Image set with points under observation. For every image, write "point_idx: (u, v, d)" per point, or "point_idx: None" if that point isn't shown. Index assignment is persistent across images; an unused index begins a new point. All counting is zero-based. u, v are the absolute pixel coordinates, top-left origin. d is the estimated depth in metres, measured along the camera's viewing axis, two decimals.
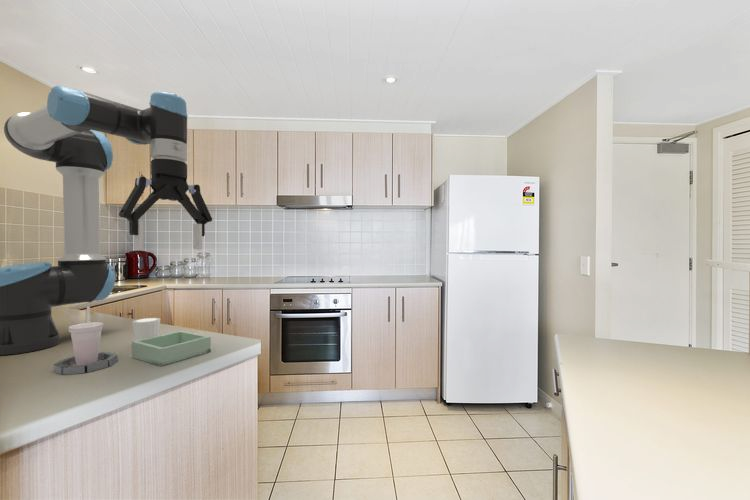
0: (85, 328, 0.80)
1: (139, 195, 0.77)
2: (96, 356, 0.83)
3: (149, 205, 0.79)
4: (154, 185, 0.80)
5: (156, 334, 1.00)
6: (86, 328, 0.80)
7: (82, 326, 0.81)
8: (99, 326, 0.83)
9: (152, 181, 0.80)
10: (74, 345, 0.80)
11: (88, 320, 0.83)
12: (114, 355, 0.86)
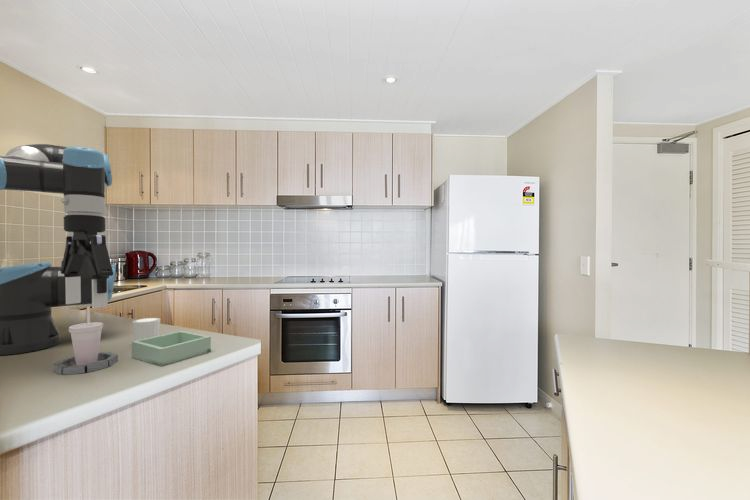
0: (85, 328, 0.80)
1: (65, 254, 0.85)
2: (96, 356, 0.83)
3: (69, 262, 0.84)
4: None
5: (156, 334, 1.00)
6: (86, 328, 0.80)
7: (82, 326, 0.81)
8: (99, 326, 0.83)
9: None
10: (74, 345, 0.80)
11: (88, 320, 0.83)
12: (114, 355, 0.86)
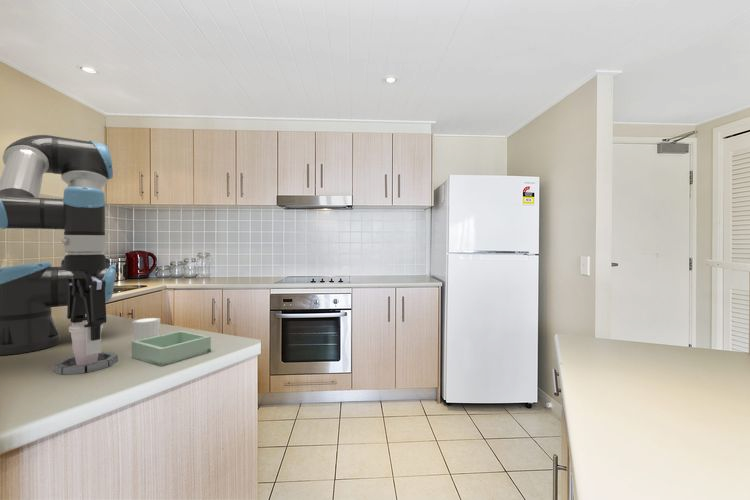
0: (85, 328, 0.80)
1: (69, 296, 0.84)
2: (96, 356, 0.83)
3: (74, 305, 0.83)
4: None
5: (156, 334, 1.00)
6: None
7: (82, 326, 0.81)
8: None
9: None
10: (74, 345, 0.80)
11: None
12: (114, 355, 0.86)
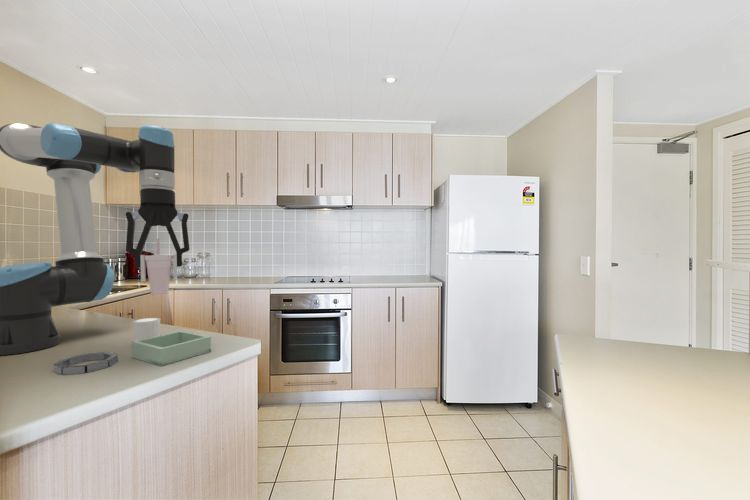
0: (171, 256, 0.89)
1: (131, 229, 0.85)
2: None
3: (144, 237, 0.87)
4: (141, 215, 0.86)
5: (156, 334, 1.00)
6: (171, 256, 0.89)
7: (163, 255, 0.88)
8: None
9: (138, 212, 0.86)
10: (160, 272, 0.87)
11: None
12: (114, 355, 0.86)
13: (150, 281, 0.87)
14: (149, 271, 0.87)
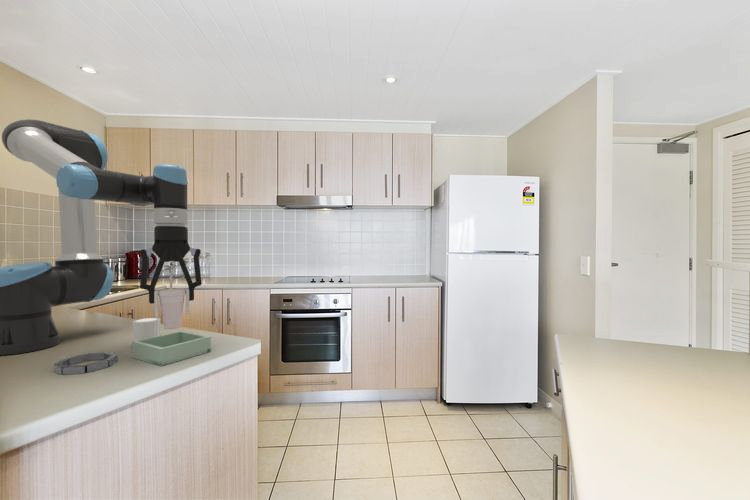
0: (184, 291, 0.91)
1: (146, 266, 0.87)
2: None
3: (158, 273, 0.88)
4: (155, 251, 0.88)
5: (156, 334, 1.00)
6: (184, 291, 0.91)
7: (177, 290, 0.90)
8: None
9: (152, 249, 0.88)
10: (174, 307, 0.89)
11: None
12: (114, 355, 0.86)
13: (163, 316, 0.89)
14: (163, 306, 0.89)
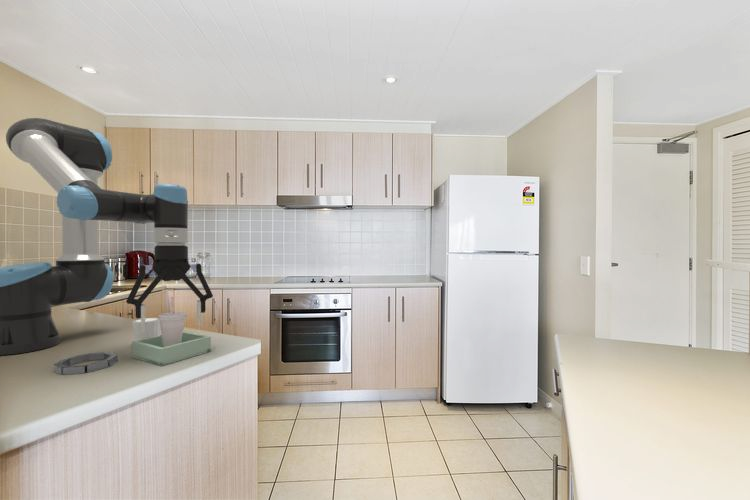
0: (185, 315, 0.91)
1: (139, 282, 0.86)
2: None
3: (150, 290, 0.88)
4: (154, 270, 0.88)
5: (156, 334, 1.00)
6: (185, 315, 0.92)
7: (177, 314, 0.91)
8: None
9: (152, 267, 0.88)
10: (174, 332, 0.89)
11: (172, 310, 0.91)
12: (114, 355, 0.86)
13: (164, 340, 0.89)
14: (163, 331, 0.89)
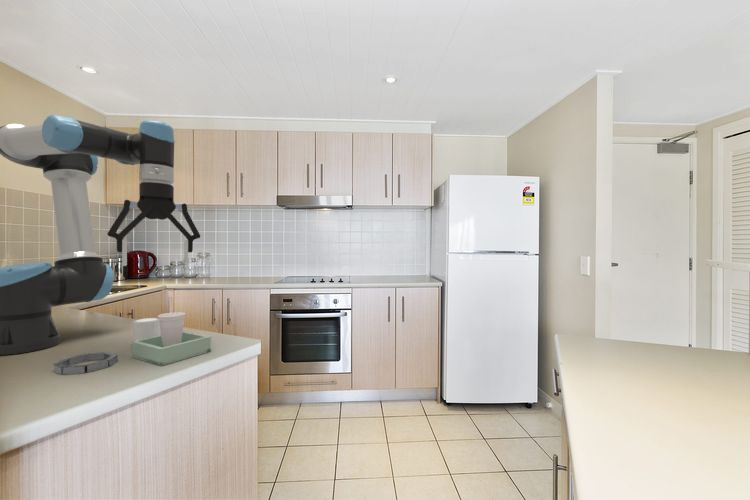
0: (184, 314, 0.91)
1: (123, 217, 0.86)
2: None
3: (132, 225, 0.87)
4: (139, 207, 0.88)
5: (156, 334, 1.00)
6: (184, 314, 0.92)
7: (176, 314, 0.91)
8: None
9: (137, 203, 0.88)
10: (173, 332, 0.89)
11: (171, 310, 0.91)
12: (114, 355, 0.86)
13: (163, 340, 0.89)
14: (162, 331, 0.89)
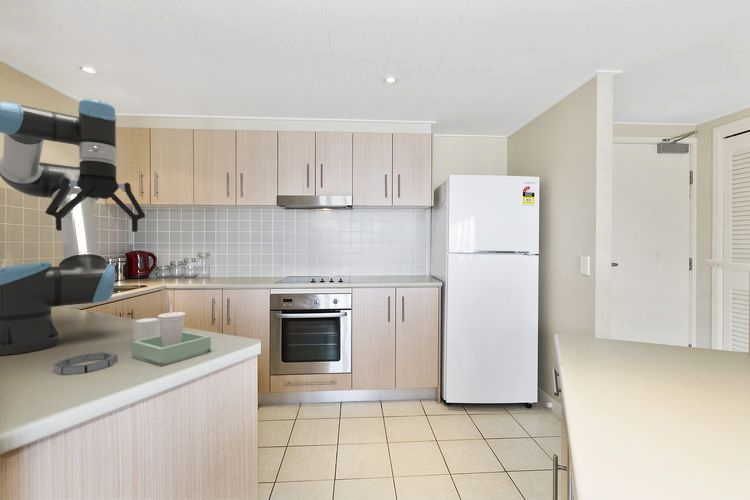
0: (184, 314, 0.91)
1: (61, 195, 0.87)
2: None
3: (72, 203, 0.88)
4: (78, 185, 0.88)
5: (156, 334, 1.00)
6: (184, 314, 0.92)
7: (176, 314, 0.91)
8: None
9: (77, 182, 0.88)
10: (173, 332, 0.89)
11: (171, 310, 0.91)
12: (114, 355, 0.86)
13: (163, 340, 0.89)
14: (162, 331, 0.89)
